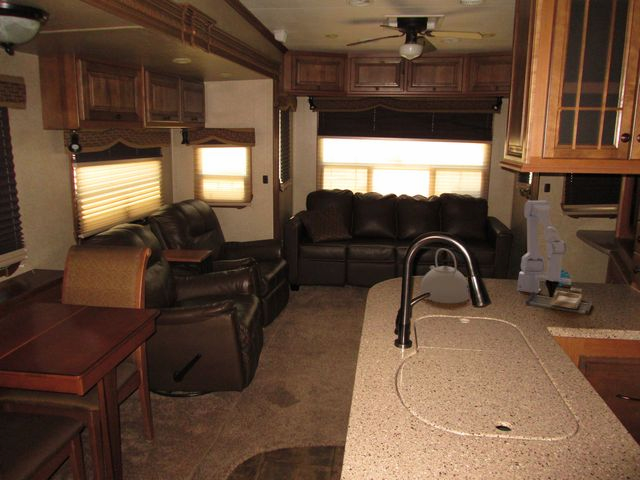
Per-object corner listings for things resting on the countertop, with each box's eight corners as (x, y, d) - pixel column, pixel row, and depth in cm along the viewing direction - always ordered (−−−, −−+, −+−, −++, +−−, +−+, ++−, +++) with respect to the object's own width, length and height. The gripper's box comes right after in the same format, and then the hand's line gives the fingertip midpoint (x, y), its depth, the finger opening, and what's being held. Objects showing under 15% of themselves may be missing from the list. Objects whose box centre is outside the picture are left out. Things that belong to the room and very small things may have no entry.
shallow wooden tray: (549, 306, 226) (550, 299, 225) (556, 296, 238) (556, 290, 238) (576, 310, 220) (577, 304, 219) (581, 301, 233) (582, 294, 232)
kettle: (408, 289, 253) (410, 244, 248) (449, 285, 259) (452, 241, 255) (434, 305, 229) (437, 256, 225) (478, 300, 236) (482, 252, 231)
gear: (544, 281, 262) (553, 265, 264) (545, 287, 266) (553, 271, 269) (567, 288, 255) (575, 272, 258) (567, 294, 259) (575, 278, 262)
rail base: (525, 304, 231) (525, 300, 231) (532, 295, 244) (533, 291, 244) (587, 315, 218) (587, 311, 217) (591, 304, 231) (592, 301, 231)
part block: (568, 300, 238) (569, 289, 237) (570, 297, 241) (571, 287, 240) (579, 302, 235) (580, 291, 234) (580, 299, 239) (581, 289, 238)
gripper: (534, 267, 230) (532, 296, 233) (570, 272, 222) (567, 302, 225) (538, 264, 236) (535, 292, 239) (573, 268, 228) (569, 298, 231)
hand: (551, 297), depth 232 cm, fingers closed
